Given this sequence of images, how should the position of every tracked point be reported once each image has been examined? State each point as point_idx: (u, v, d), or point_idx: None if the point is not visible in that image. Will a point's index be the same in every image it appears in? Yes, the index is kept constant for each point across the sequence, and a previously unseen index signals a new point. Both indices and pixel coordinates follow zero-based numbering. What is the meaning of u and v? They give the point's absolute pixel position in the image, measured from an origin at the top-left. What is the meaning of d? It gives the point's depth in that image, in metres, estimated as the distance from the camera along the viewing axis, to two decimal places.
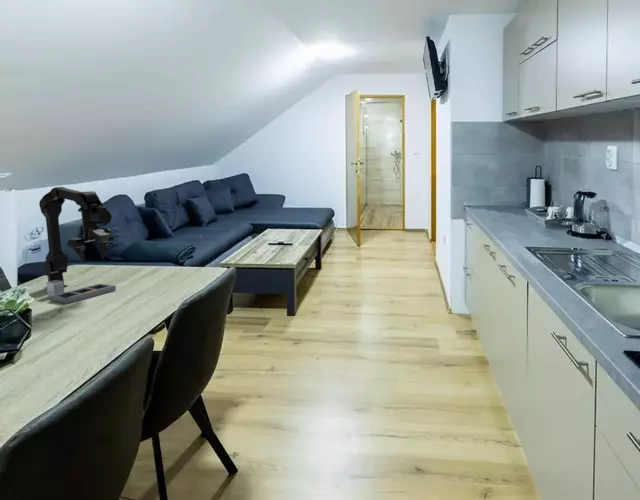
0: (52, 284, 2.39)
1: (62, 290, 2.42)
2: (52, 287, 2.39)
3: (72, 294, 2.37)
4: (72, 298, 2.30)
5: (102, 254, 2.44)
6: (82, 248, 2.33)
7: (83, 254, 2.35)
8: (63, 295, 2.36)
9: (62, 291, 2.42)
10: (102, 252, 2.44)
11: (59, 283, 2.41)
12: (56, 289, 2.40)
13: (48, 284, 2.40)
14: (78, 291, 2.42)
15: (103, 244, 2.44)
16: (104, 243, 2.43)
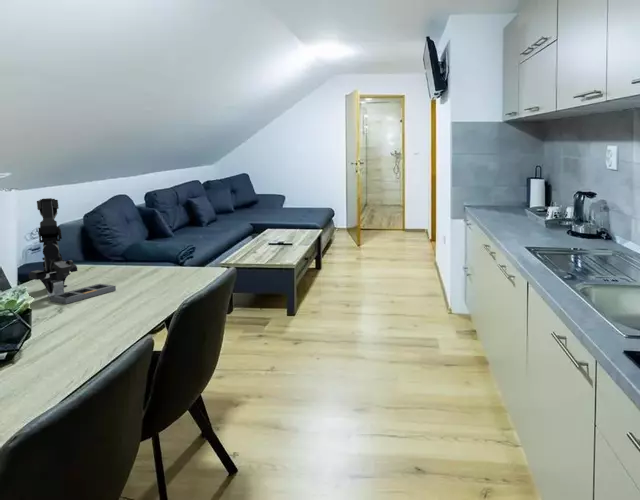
0: (52, 284, 2.39)
1: (62, 289, 2.42)
2: (52, 287, 2.39)
3: (72, 294, 2.37)
4: (72, 298, 2.30)
5: None
6: (48, 279, 2.36)
7: (49, 285, 2.38)
8: (63, 295, 2.36)
9: (62, 291, 2.42)
10: None
11: (59, 283, 2.41)
12: (56, 289, 2.40)
13: None
14: (78, 291, 2.42)
15: (61, 276, 2.43)
16: (62, 275, 2.42)
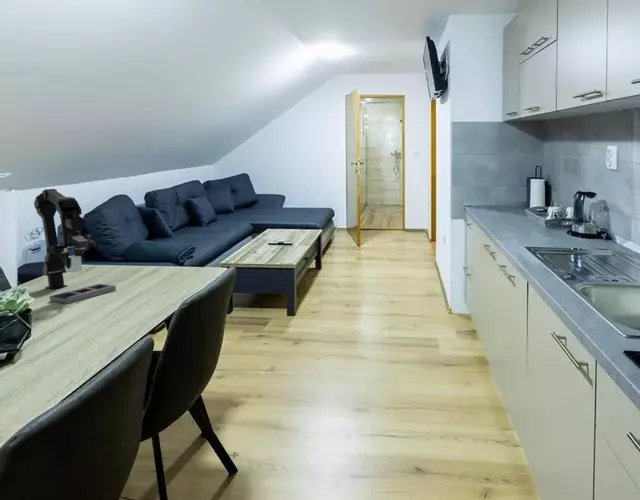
0: (70, 259, 2.35)
1: (80, 265, 2.39)
2: (70, 262, 2.36)
3: (72, 294, 2.37)
4: (72, 298, 2.30)
5: None
6: (66, 254, 2.33)
7: (67, 260, 2.35)
8: (63, 295, 2.36)
9: (80, 266, 2.39)
10: None
11: (77, 258, 2.37)
12: (74, 264, 2.36)
13: None
14: (78, 291, 2.42)
15: (79, 251, 2.40)
16: (80, 250, 2.39)
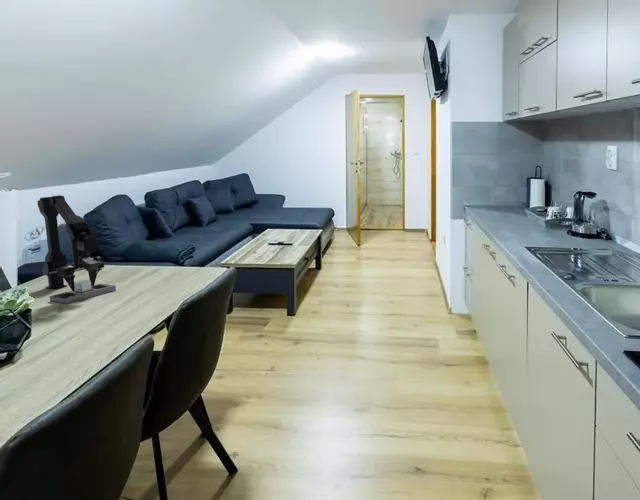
0: (80, 284, 2.37)
1: (90, 290, 2.41)
2: (80, 287, 2.37)
3: (72, 294, 2.37)
4: (72, 298, 2.30)
5: (92, 282, 2.44)
6: (71, 277, 2.33)
7: (73, 283, 2.35)
8: (63, 295, 2.36)
9: None
10: (92, 280, 2.43)
11: (87, 283, 2.39)
12: (84, 289, 2.38)
13: (76, 284, 2.39)
14: None
15: (93, 272, 2.43)
16: (94, 271, 2.43)
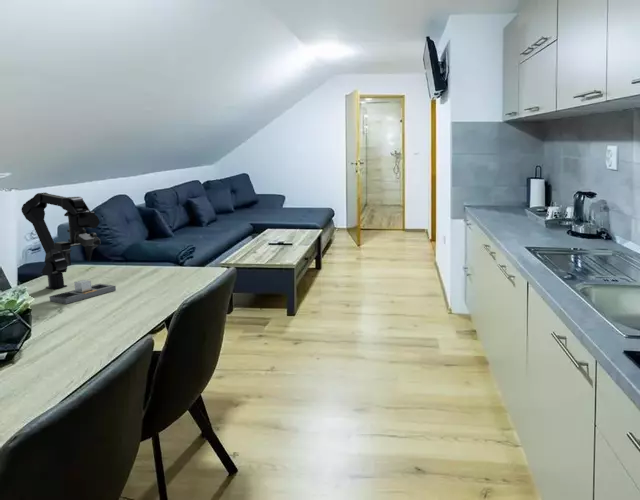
0: (80, 284, 2.37)
1: (90, 290, 2.41)
2: (80, 287, 2.37)
3: (72, 294, 2.37)
4: (72, 298, 2.30)
5: (88, 257, 2.53)
6: (68, 251, 2.42)
7: (69, 257, 2.44)
8: (63, 295, 2.36)
9: None
10: (88, 255, 2.53)
11: (87, 283, 2.39)
12: (84, 289, 2.38)
13: (76, 284, 2.39)
14: None
15: (89, 247, 2.52)
16: (90, 247, 2.52)
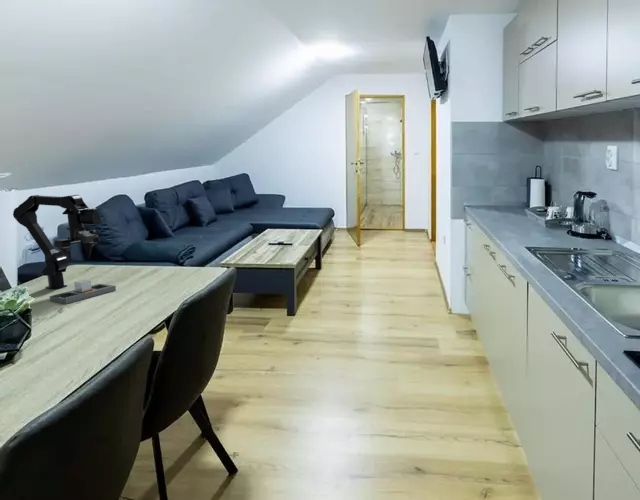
0: (80, 284, 2.37)
1: (90, 290, 2.41)
2: (80, 287, 2.37)
3: (72, 294, 2.37)
4: (72, 298, 2.30)
5: (88, 254, 2.56)
6: (68, 249, 2.45)
7: (69, 254, 2.47)
8: (63, 295, 2.36)
9: None
10: (88, 252, 2.56)
11: (87, 283, 2.39)
12: (84, 289, 2.38)
13: (76, 284, 2.39)
14: None
15: (89, 245, 2.56)
16: (90, 244, 2.55)
